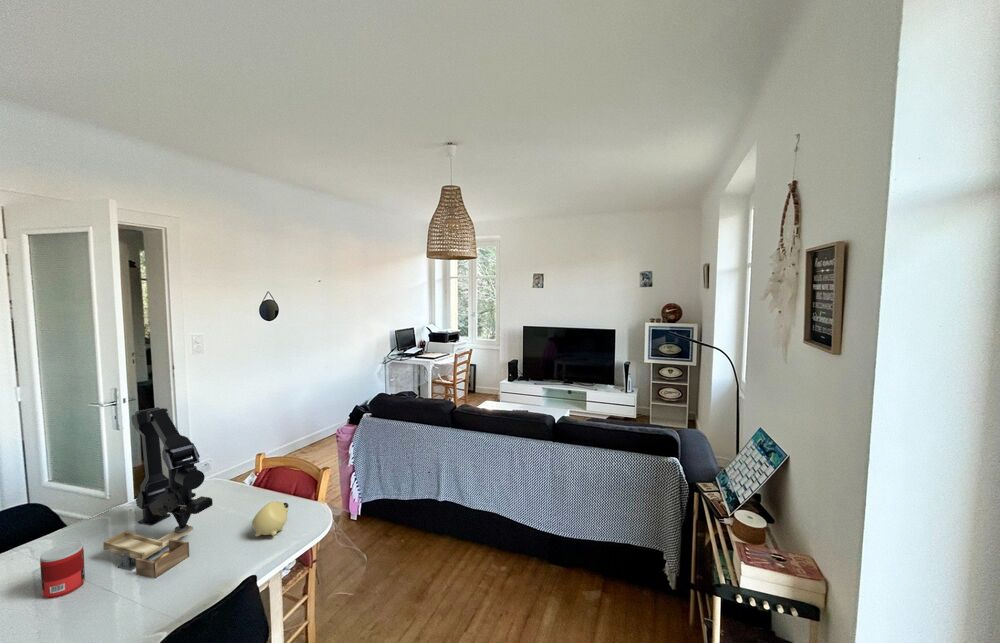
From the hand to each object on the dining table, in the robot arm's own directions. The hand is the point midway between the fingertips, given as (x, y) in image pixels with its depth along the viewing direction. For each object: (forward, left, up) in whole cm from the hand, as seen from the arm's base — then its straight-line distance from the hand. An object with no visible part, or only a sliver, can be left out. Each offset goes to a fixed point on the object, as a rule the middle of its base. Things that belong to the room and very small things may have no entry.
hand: (182, 527), depth 132 cm
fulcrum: (-4, -11, -5) cm, 12 cm away
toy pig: (+23, +11, -5) cm, 27 cm away
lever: (-6, -5, -1) cm, 8 cm away
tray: (+5, -11, -5) cm, 13 cm away
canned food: (-11, -25, -5) cm, 27 cm away
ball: (+7, -11, -3) cm, 13 cm away
